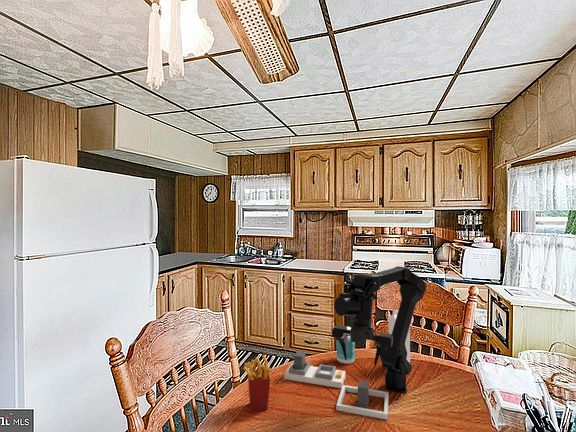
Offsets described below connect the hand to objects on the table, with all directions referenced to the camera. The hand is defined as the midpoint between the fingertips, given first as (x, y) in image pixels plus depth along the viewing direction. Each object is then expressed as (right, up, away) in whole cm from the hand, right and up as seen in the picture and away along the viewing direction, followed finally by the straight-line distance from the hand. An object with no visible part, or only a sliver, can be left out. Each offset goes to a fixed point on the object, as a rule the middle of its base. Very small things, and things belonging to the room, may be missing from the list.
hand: (360, 362), depth 105 cm
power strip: (-13, -13, +16) cm, 24 cm away
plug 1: (-19, -11, +18) cm, 28 cm away
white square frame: (+1, -13, -1) cm, 13 cm away
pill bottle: (+1, -13, +31) cm, 34 cm away
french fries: (-33, -13, -2) cm, 36 cm away
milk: (+22, -13, +27) cm, 37 cm away
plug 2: (+1, -13, -1) cm, 13 cm away
